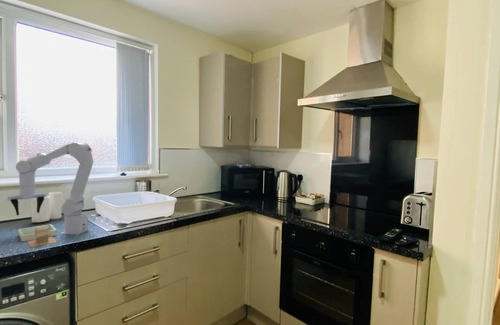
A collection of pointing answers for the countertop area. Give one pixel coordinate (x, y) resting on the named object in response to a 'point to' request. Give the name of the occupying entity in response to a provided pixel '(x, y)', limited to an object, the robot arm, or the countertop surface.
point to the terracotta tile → (33, 243)
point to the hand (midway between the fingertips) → (28, 213)
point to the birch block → (41, 234)
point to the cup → (44, 210)
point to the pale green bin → (29, 233)
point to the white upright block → (55, 204)
